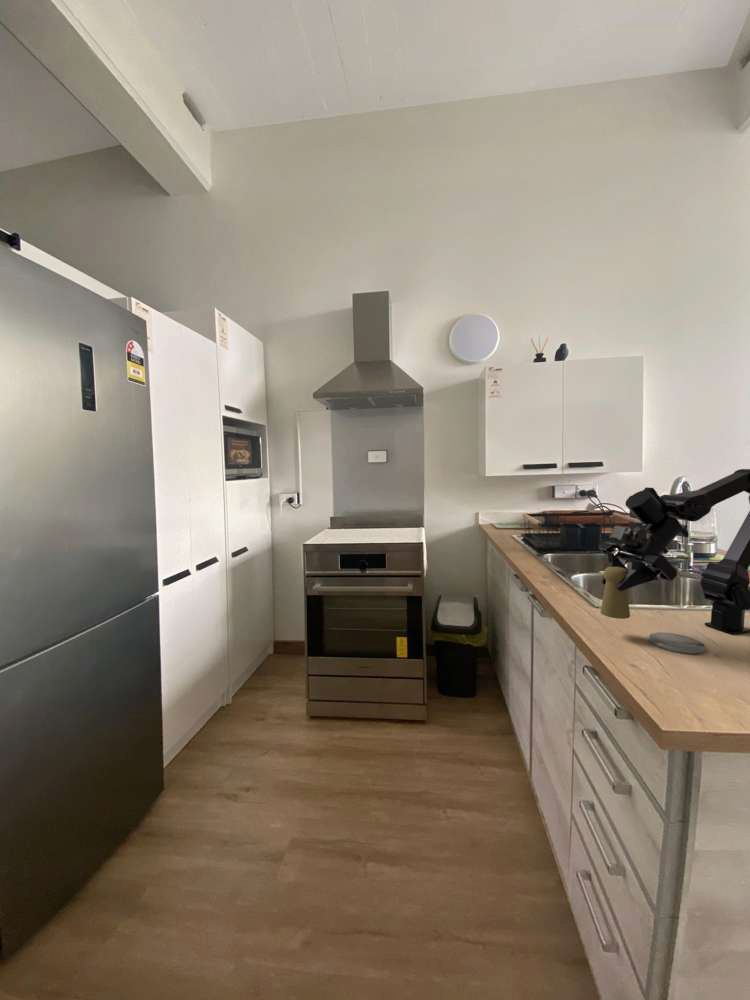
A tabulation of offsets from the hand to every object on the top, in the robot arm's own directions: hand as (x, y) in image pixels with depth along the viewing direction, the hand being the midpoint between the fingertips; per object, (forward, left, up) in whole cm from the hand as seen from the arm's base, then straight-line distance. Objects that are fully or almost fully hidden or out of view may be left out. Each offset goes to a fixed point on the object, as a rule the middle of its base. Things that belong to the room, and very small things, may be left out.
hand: (610, 586), depth 98 cm
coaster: (-10, +8, -12) cm, 18 cm away
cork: (-1, 0, -7) cm, 7 cm away
